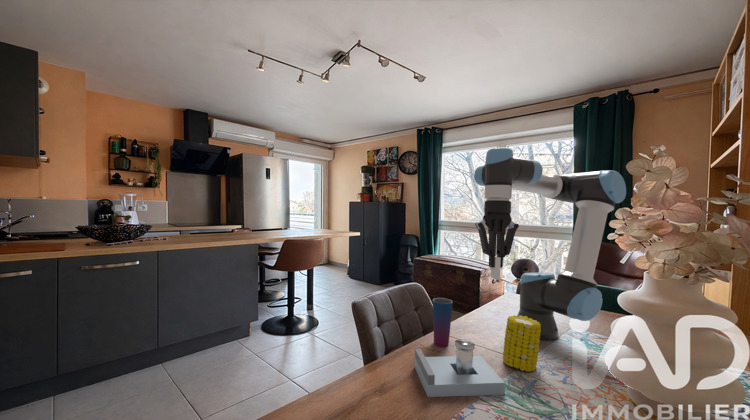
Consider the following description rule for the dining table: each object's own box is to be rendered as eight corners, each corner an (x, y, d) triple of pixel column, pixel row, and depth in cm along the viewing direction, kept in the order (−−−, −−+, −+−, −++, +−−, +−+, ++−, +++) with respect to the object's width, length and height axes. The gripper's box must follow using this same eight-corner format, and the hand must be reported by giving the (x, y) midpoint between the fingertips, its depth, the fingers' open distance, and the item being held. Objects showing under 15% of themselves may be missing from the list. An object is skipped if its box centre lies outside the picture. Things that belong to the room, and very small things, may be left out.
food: (496, 364, 94) (525, 364, 96) (520, 375, 83) (553, 375, 84) (494, 313, 98) (522, 314, 99) (516, 317, 86) (548, 318, 88)
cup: (451, 349, 100) (453, 304, 100) (431, 346, 101) (432, 302, 101) (450, 340, 107) (452, 298, 107) (431, 338, 108) (432, 297, 108)
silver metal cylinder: (468, 374, 85) (469, 339, 85) (476, 384, 80) (478, 347, 80) (451, 374, 84) (452, 339, 84) (458, 385, 79) (459, 347, 79)
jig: (479, 365, 90) (480, 347, 90) (504, 394, 76) (505, 373, 76) (414, 367, 88) (415, 348, 88) (427, 397, 74) (428, 375, 74)
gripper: (511, 201, 95) (508, 275, 95) (471, 199, 93) (469, 275, 93) (525, 200, 87) (523, 281, 87) (482, 198, 86) (480, 281, 86)
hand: (495, 278), depth 90 cm, fingers closed
